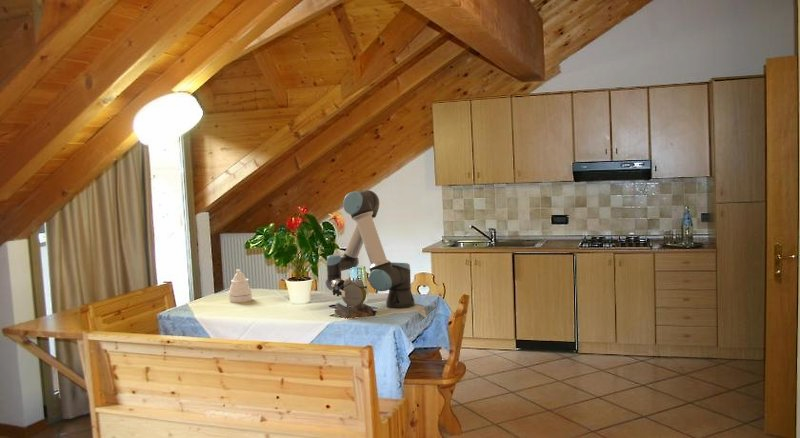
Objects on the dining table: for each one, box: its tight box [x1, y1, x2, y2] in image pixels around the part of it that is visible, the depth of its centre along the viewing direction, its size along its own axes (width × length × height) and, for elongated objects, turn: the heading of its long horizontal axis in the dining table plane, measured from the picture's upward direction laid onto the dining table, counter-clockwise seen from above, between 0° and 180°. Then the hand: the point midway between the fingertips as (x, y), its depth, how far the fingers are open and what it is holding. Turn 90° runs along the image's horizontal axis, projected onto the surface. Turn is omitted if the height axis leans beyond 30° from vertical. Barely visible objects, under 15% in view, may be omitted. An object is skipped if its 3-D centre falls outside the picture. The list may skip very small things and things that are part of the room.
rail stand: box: [334, 302, 374, 320], centre depth 350 cm, size 14×18×4 cm
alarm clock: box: [341, 278, 367, 310], centre depth 347 cm, size 12×7×15 cm, turn 70°
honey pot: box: [228, 269, 253, 303], centre depth 398 cm, size 13×13×18 cm
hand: (355, 292), depth 345 cm, fingers closed on alarm clock, 11 cm apart
